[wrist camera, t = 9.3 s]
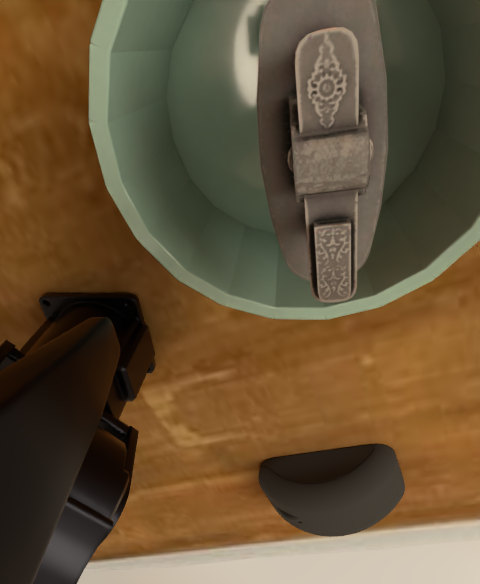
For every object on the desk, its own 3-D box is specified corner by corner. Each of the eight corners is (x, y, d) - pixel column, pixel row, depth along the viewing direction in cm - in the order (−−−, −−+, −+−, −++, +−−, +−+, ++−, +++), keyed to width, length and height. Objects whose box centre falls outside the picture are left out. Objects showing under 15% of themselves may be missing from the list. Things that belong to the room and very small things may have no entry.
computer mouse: (254, 460, 32) (249, 508, 29) (391, 441, 28) (404, 493, 25) (278, 499, 35) (277, 547, 32) (405, 486, 31) (419, 538, 28)
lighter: (259, 7, 14) (218, -40, 6) (350, -12, 14) (439, -94, 6) (280, 206, 19) (272, 335, 10) (350, 198, 18) (401, 329, 10)
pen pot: (181, 242, 21) (140, 318, 15) (129, -67, 14) (16, -143, 8) (421, 239, 19) (477, 322, 14) (497, -114, 12) (679, -251, 7)
